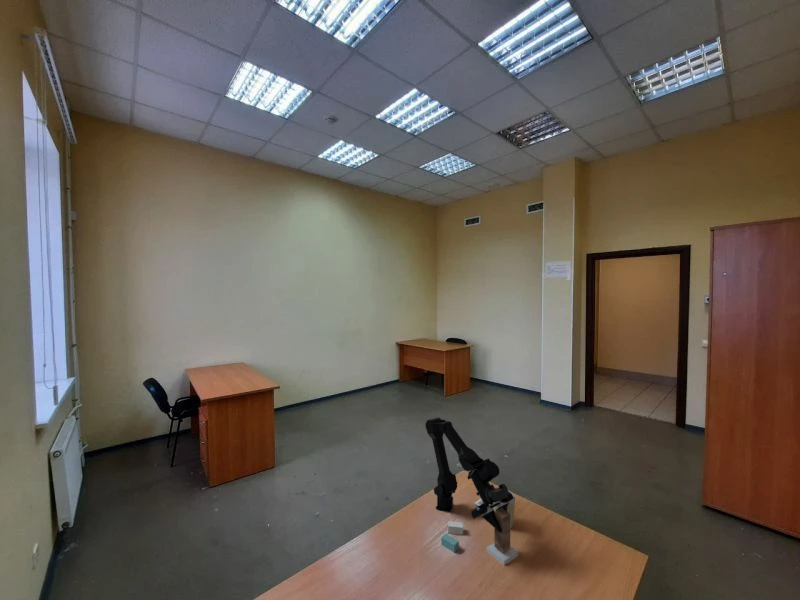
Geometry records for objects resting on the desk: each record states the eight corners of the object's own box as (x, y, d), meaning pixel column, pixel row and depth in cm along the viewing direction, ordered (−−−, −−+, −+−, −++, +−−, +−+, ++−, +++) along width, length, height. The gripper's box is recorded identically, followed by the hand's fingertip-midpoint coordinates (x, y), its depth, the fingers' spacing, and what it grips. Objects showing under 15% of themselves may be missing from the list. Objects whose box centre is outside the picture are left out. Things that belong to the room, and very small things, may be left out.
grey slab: (486, 552, 124) (486, 547, 124) (500, 543, 129) (500, 538, 129) (504, 566, 118) (504, 561, 118) (518, 557, 122) (518, 551, 122)
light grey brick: (448, 533, 134) (448, 526, 134) (447, 528, 137) (447, 521, 137) (463, 535, 133) (463, 527, 133) (462, 530, 136) (462, 522, 136)
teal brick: (441, 545, 128) (441, 537, 128) (445, 541, 130) (445, 533, 130) (454, 553, 123) (454, 545, 123) (458, 549, 126) (458, 541, 126)
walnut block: (494, 546, 124) (494, 511, 124) (501, 542, 126) (501, 508, 126) (503, 553, 120) (503, 517, 120) (510, 548, 123) (510, 513, 123)
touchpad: (503, 521, 142) (503, 516, 142) (473, 505, 153) (473, 500, 153) (512, 513, 147) (512, 508, 147) (483, 498, 158) (483, 494, 158)
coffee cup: (512, 516, 144) (512, 489, 144) (517, 531, 135) (517, 501, 135) (490, 514, 145) (490, 487, 145) (494, 529, 136) (494, 500, 136)
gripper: (476, 485, 121) (500, 533, 112) (510, 471, 132) (534, 514, 122) (461, 496, 128) (483, 542, 119) (494, 482, 138) (516, 523, 129)
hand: (505, 530), depth 122 cm, fingers open, 4 cm apart
